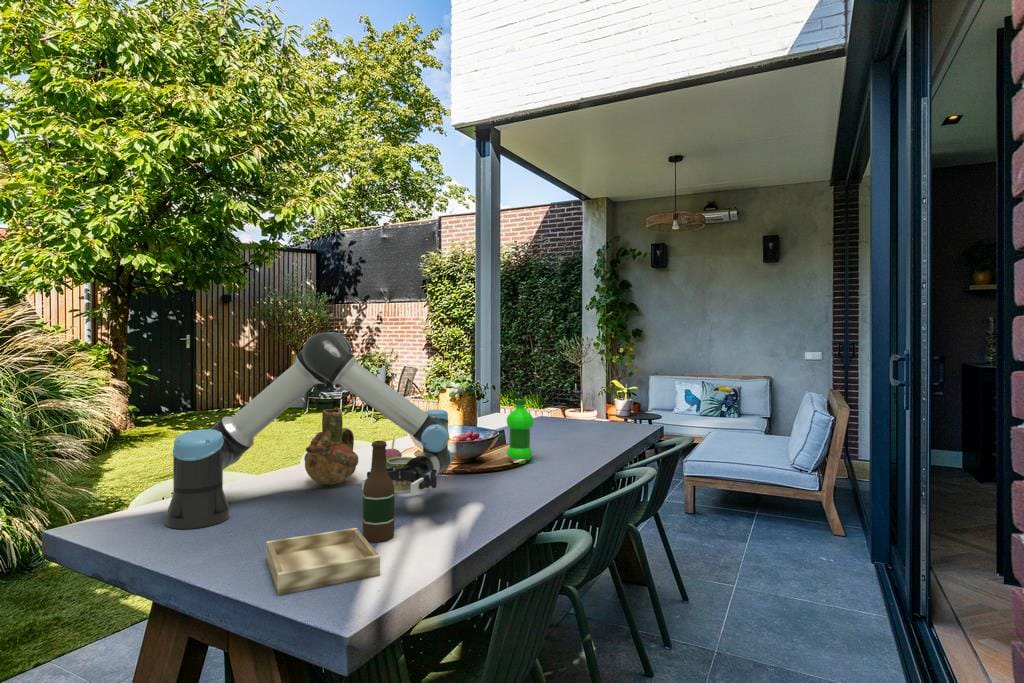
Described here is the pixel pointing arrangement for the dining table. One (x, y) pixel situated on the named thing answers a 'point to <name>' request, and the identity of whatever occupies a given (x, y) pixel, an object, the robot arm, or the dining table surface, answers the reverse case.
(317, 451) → the ceramic vessel
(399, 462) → the ceramic cup
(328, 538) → the oak tray
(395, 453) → the cupcake
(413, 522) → the dining table surface
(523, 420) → the plastic bottle
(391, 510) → the beer bottle
